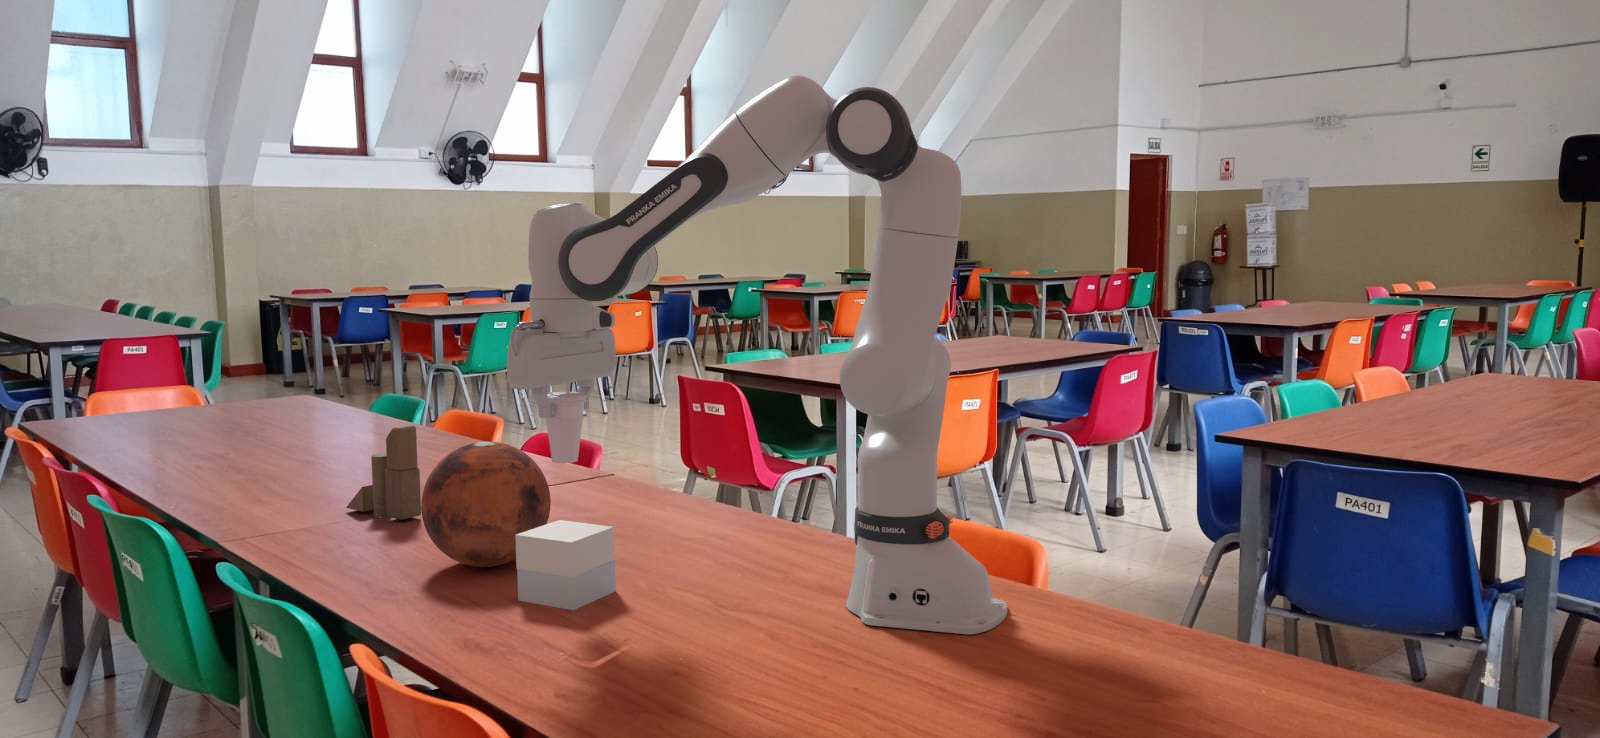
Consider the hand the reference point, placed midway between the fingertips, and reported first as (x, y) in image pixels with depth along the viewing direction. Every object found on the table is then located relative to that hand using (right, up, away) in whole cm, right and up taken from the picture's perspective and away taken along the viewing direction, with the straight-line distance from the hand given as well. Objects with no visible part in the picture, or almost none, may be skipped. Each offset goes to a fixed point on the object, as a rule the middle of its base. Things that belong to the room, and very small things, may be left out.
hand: (564, 414), depth 164 cm
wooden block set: (-45, -22, +53) cm, 73 cm away
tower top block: (0, -22, +2) cm, 22 cm away
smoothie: (0, -7, +1) cm, 7 cm away
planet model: (-16, -25, +19) cm, 36 cm away
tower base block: (0, -27, +3) cm, 27 cm away
